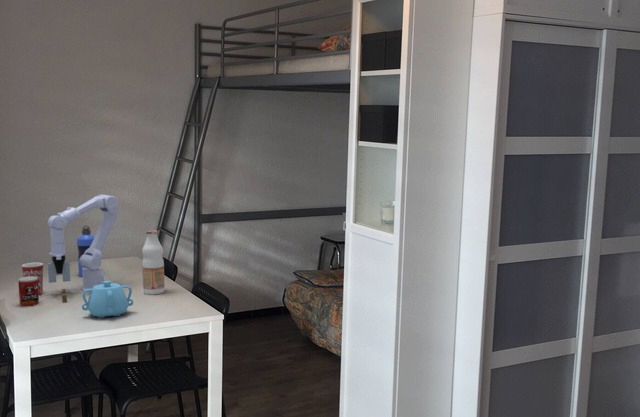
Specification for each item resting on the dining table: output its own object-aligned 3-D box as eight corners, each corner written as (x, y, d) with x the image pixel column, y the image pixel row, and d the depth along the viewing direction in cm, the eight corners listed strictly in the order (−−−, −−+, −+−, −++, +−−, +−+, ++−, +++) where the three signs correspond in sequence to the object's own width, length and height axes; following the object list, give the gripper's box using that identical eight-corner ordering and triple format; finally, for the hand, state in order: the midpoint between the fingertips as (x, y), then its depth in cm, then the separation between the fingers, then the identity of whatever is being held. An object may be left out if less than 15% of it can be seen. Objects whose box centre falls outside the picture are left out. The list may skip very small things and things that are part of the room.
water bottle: (102, 274, 361) (99, 225, 358) (87, 278, 353) (84, 227, 350) (89, 272, 366) (87, 223, 363) (74, 276, 358) (72, 226, 355)
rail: (66, 295, 319) (65, 289, 319) (66, 302, 308) (66, 295, 308) (62, 296, 319) (62, 289, 319) (62, 302, 308) (62, 295, 307)
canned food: (20, 307, 301) (19, 281, 300) (18, 302, 308) (17, 277, 307) (40, 304, 304) (38, 279, 303) (38, 300, 311) (36, 275, 310)
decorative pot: (108, 322, 278) (106, 288, 277) (78, 316, 286) (76, 283, 284) (137, 312, 293) (136, 279, 291) (108, 307, 300) (107, 275, 298)
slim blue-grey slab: (70, 279, 324) (69, 261, 323) (70, 281, 322) (69, 262, 321) (48, 281, 321) (47, 262, 320) (48, 282, 319) (47, 263, 318)
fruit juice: (141, 295, 320) (139, 232, 316) (145, 289, 329) (143, 229, 326) (162, 294, 320) (160, 232, 317) (166, 289, 330) (164, 229, 326)
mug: (44, 295, 320) (42, 265, 318) (22, 297, 317) (20, 267, 315) (45, 289, 332) (44, 260, 330) (24, 290, 329) (23, 261, 327)
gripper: (48, 240, 325) (49, 270, 327) (48, 246, 311) (49, 276, 313) (64, 239, 327) (66, 268, 329) (65, 244, 314) (67, 275, 315)
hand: (59, 272), depth 321 cm, fingers closed on slim blue-grey slab, 2 cm apart
